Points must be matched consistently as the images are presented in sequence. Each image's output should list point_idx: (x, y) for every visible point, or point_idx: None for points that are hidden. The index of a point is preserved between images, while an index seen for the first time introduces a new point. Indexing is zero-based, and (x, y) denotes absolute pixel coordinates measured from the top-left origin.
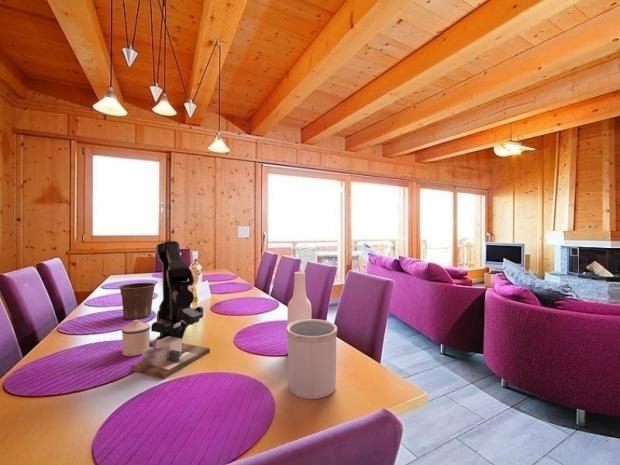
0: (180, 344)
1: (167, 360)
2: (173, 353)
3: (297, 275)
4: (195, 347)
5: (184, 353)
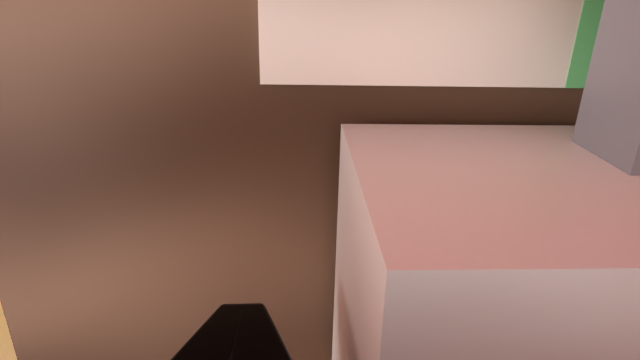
0: (397, 189)
1: None
2: None
3: None
4: (15, 84)
5: (330, 63)
